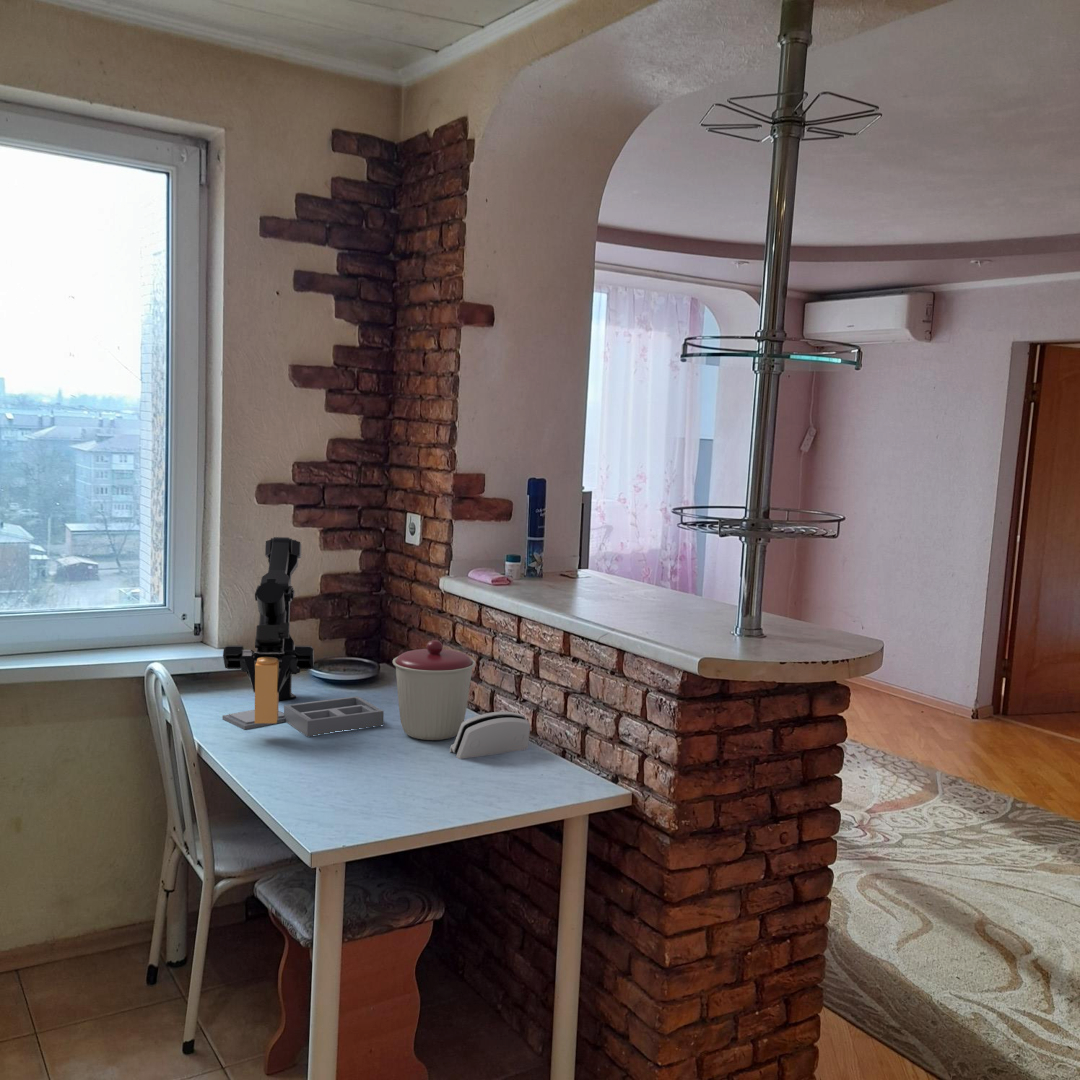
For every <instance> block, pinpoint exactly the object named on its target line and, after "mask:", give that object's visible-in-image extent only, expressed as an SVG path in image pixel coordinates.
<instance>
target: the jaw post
mask: <svg viewBox="0 0 1080 1080" xmlns="http://www.w3.org/2000/svg"><path fill="white" fill-rule="evenodd" d="M278 679H279V660H278V659H277V658H275V657H261V658H258V659H257V661H255V693H254V710H255V723H276V724H278V723H277V720H278V711H279V708H280V707H279V705H280V704H279V701H280V700H279V693H278V692H277V685H278Z"/></svg>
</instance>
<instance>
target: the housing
mask: <svg viewBox="0 0 1080 1080" xmlns="http://www.w3.org/2000/svg"><path fill="white" fill-rule="evenodd" d="M384 712H385V710H383V709H381V708H379V707H377V706H376V705H374V704H372V703H370V702H369V701H367V700H366V699H363V698H361V697H360V696H358V695H356V696H348V697H341V698H332V699H324V700H315V701H309V702H308V701H307V702H299V703H292V704H284V705H283V713H284V717H285V718H286V722H285V723H287V724H288V725H290V726H291V727H293V729H295V730H297V731H298V732H299V733H301V732H302V733H303V734H302V733H301V734H302V735H304V736H305V735H306V736H305V737H307V736H311V737H314V736H313V735H318V734H324V733H330V732H335V731H342V730H343V731H344V730H351V729H359V728H366V727H373V726H381V725H383V726H384V718H385V717H384V714H385V713H384ZM381 727H382V726H381ZM318 736H319V735H318Z"/></svg>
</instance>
